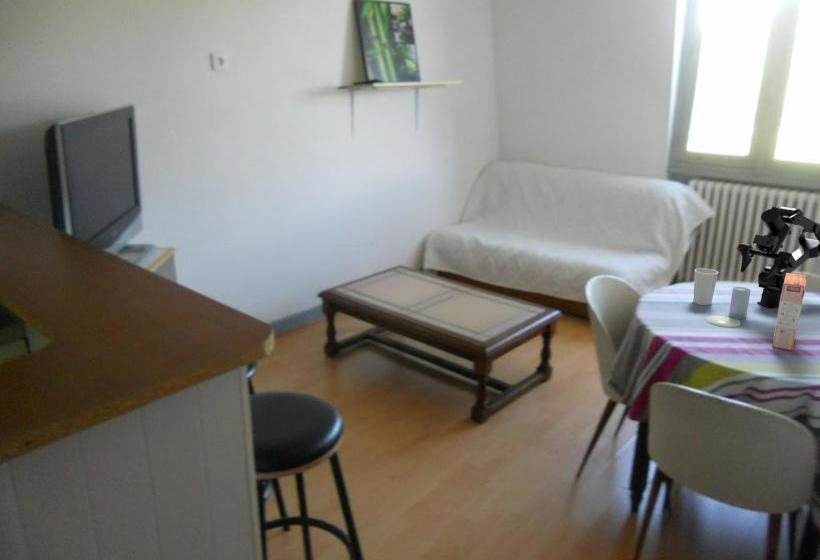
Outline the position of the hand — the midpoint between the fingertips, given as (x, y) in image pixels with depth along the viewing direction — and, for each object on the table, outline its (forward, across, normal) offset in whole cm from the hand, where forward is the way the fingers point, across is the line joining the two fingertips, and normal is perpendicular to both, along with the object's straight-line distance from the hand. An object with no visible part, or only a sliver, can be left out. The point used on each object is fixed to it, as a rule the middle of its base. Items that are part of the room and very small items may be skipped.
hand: (753, 275), depth 228 cm
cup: (+13, -16, +6) cm, 21 cm away
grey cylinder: (+15, 0, +3) cm, 16 cm away
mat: (+21, +1, -4) cm, 21 cm away
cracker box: (+22, +22, -4) cm, 32 cm away
